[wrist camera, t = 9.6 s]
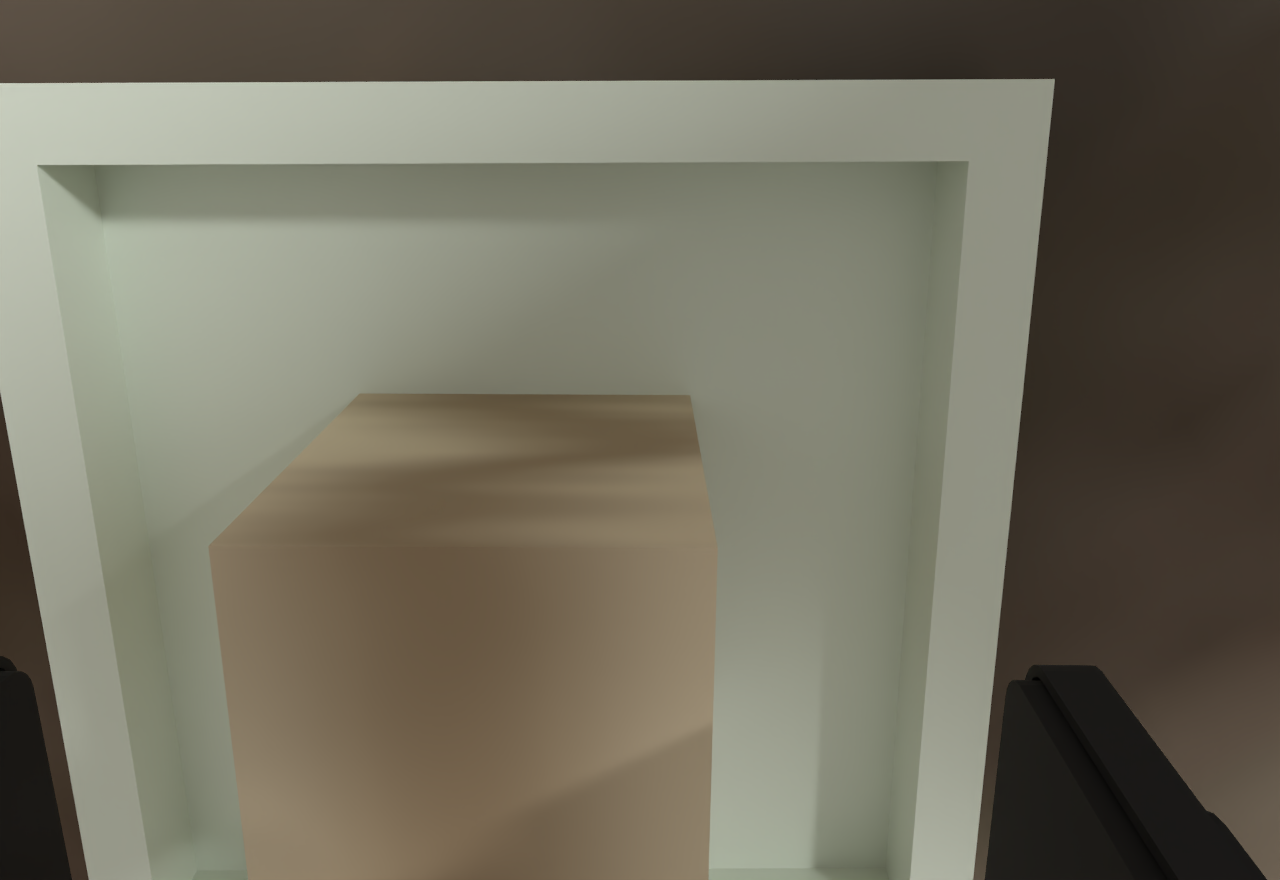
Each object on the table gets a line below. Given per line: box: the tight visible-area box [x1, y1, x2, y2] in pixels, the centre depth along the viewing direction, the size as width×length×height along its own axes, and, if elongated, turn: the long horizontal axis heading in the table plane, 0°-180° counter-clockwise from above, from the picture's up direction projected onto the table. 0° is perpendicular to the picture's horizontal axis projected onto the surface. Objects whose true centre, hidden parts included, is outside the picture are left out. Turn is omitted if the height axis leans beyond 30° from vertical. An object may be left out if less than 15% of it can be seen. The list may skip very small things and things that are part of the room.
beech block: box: [208, 394, 718, 880], centre depth 14 cm, size 5×5×6 cm
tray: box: [0, 79, 1055, 880], centre depth 17 cm, size 14×14×2 cm
